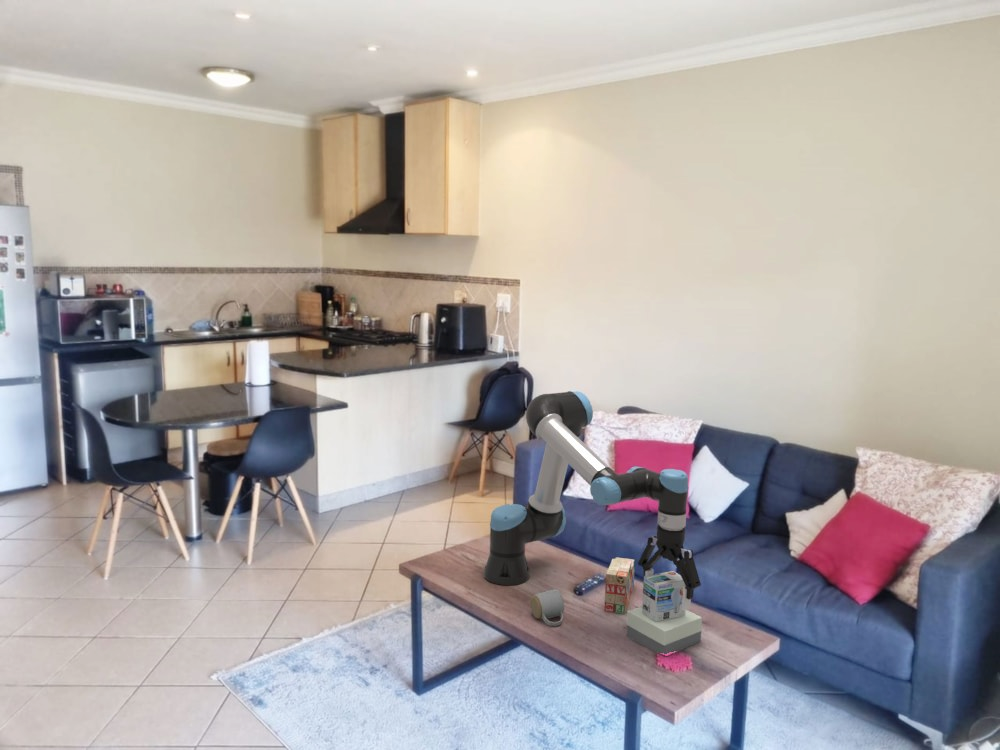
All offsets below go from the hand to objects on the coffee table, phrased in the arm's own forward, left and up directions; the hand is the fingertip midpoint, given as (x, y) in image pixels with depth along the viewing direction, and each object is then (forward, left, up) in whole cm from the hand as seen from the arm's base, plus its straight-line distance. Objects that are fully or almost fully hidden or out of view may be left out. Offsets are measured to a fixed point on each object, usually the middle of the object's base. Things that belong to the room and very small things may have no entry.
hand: (666, 600), depth 208 cm
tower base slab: (0, 0, -12) cm, 12 cm away
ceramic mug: (-28, -18, -12) cm, 35 cm away
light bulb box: (-1, 0, -5) cm, 5 cm away
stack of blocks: (-25, +9, -12) cm, 30 cm away
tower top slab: (0, 0, -8) cm, 8 cm away
